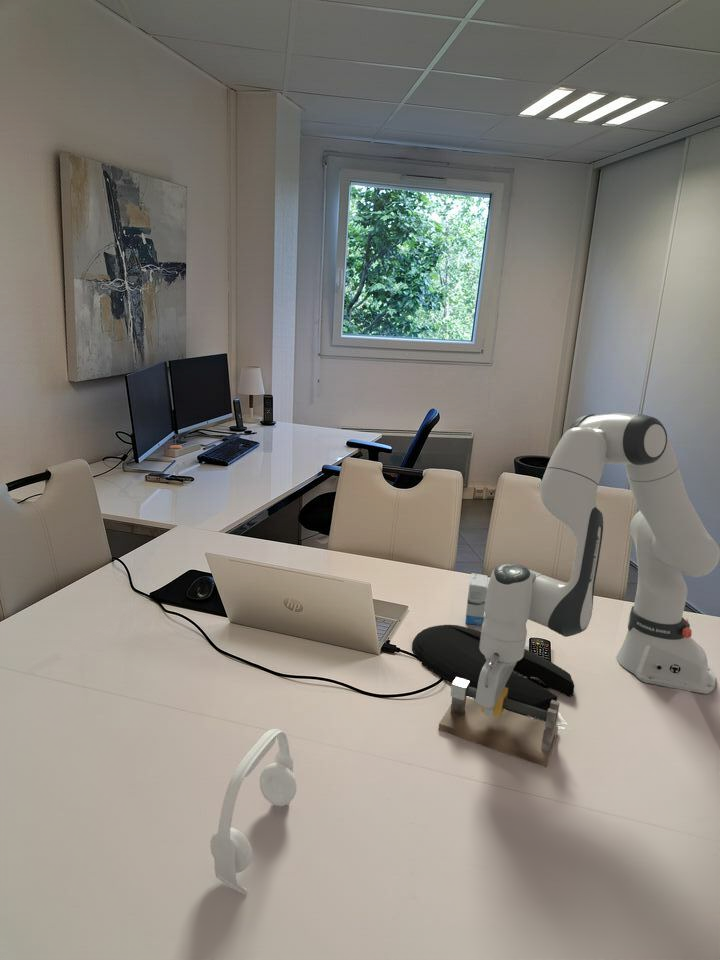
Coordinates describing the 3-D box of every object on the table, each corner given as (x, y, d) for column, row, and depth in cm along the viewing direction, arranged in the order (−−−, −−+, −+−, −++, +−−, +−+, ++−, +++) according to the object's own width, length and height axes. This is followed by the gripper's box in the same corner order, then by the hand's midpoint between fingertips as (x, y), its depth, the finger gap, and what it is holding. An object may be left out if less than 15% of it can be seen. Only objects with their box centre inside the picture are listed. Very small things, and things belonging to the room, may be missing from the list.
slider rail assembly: (557, 732, 137) (564, 692, 134) (546, 767, 126) (553, 724, 124) (456, 699, 146) (461, 661, 143) (438, 729, 135) (442, 689, 133)
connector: (466, 709, 140) (470, 681, 138) (462, 717, 137) (465, 688, 136) (453, 705, 141) (456, 676, 139) (448, 712, 139) (451, 683, 137)
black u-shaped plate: (447, 621, 182) (448, 605, 180) (587, 684, 156) (590, 666, 154) (389, 653, 164) (391, 636, 162) (537, 730, 138) (540, 710, 136)
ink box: (482, 626, 179) (487, 587, 176) (464, 623, 180) (469, 584, 177) (483, 612, 188) (488, 574, 184) (466, 610, 188) (470, 572, 185)
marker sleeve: (505, 706, 137) (508, 687, 135) (500, 717, 133) (502, 698, 132) (486, 700, 138) (489, 682, 137) (481, 711, 134) (483, 692, 133)
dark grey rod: (556, 722, 132) (558, 706, 131) (552, 732, 129) (555, 716, 128) (468, 693, 139) (470, 679, 138) (463, 702, 136) (465, 687, 135)
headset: (267, 792, 116) (269, 705, 111) (303, 805, 113) (307, 717, 109) (202, 882, 98) (201, 783, 93) (244, 900, 95) (245, 798, 90)
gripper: (504, 673, 121) (495, 736, 125) (529, 626, 139) (520, 684, 143) (471, 663, 124) (464, 725, 127) (499, 619, 141) (492, 675, 145)
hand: (494, 703), depth 135 cm, fingers open, 7 cm apart
